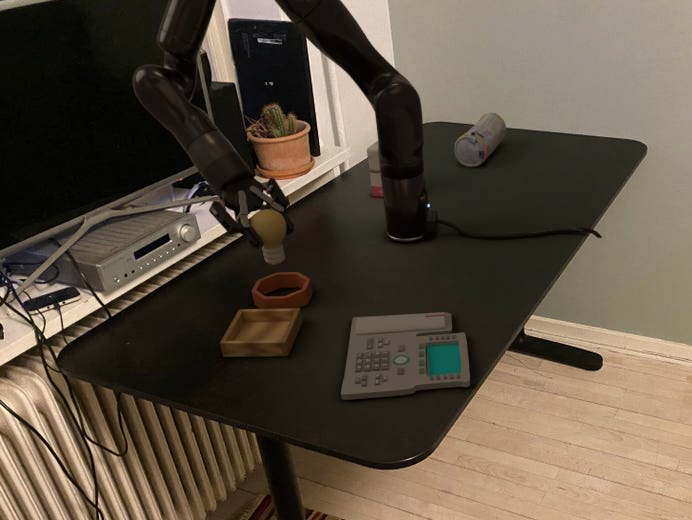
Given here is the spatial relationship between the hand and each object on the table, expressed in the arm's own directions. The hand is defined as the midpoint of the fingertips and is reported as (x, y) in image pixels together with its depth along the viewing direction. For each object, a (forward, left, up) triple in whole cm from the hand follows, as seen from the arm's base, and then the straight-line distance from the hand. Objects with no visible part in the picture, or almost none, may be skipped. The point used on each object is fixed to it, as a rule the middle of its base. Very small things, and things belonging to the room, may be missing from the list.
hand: (276, 239), depth 130 cm
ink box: (-12, -55, -13) cm, 57 cm away
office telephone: (-25, +19, -13) cm, 33 cm away
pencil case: (-35, -79, -13) cm, 87 cm away
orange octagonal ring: (+1, -1, -13) cm, 13 cm away
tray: (+1, +13, -13) cm, 18 cm away
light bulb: (+1, -1, -5) cm, 5 cm away
